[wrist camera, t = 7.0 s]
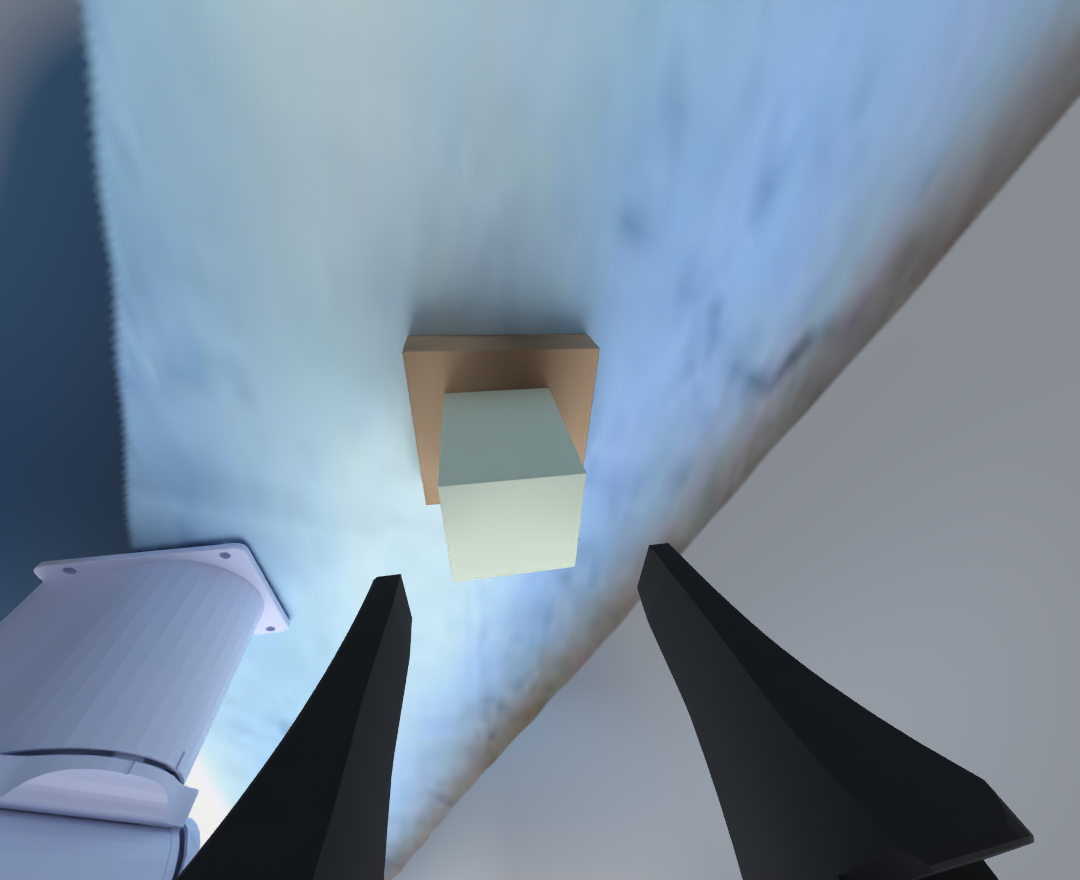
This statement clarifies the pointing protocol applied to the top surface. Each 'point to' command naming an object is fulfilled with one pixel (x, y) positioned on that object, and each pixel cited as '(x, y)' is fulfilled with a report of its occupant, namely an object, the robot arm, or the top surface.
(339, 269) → the top surface
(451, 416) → the sage block
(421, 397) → the walnut base block
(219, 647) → the robot arm
